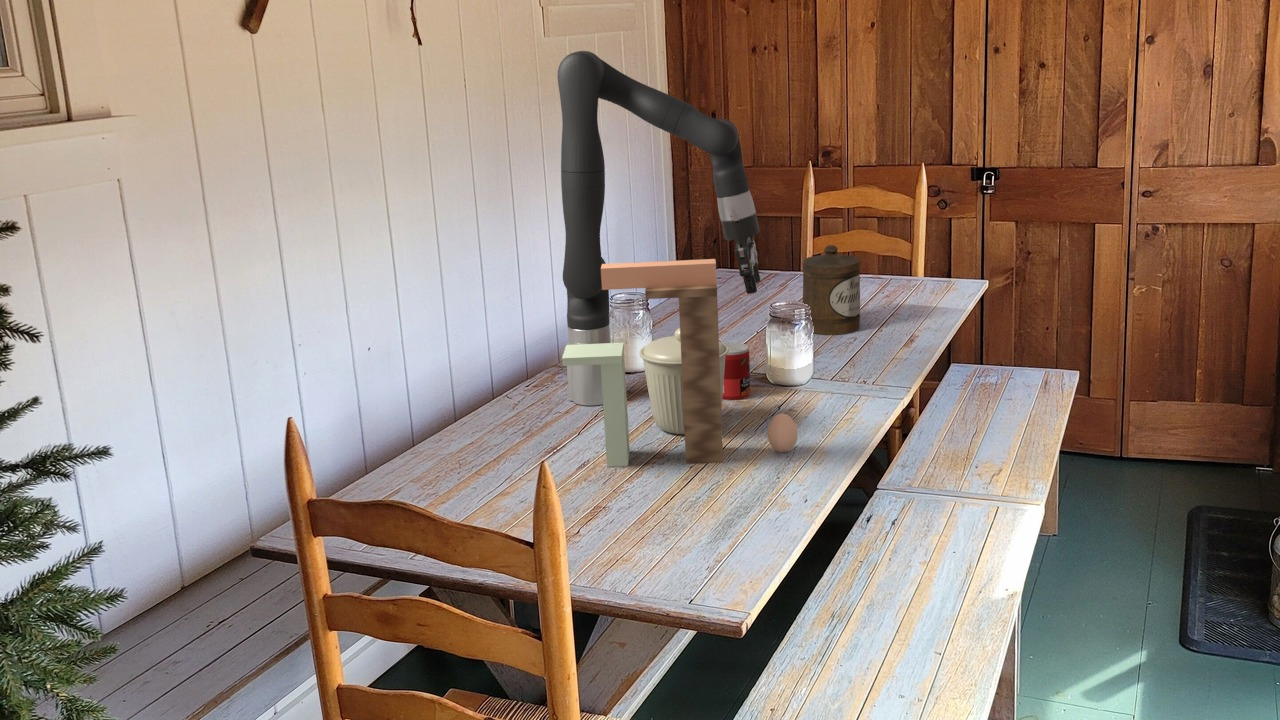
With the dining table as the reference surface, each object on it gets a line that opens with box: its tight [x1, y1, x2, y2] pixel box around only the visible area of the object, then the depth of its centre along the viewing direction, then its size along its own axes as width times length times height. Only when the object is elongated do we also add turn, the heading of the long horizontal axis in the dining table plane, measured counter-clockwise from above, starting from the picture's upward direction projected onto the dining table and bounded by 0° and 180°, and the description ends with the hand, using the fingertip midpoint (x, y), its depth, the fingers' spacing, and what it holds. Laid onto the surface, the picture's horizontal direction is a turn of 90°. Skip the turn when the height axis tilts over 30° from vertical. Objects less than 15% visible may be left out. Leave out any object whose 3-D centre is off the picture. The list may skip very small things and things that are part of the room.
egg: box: [767, 413, 799, 453], centre depth 231 cm, size 6×6×8 cm
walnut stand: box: [644, 284, 724, 465], centre depth 227 cm, size 13×9×34 cm
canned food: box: [722, 342, 751, 401], centre depth 265 cm, size 8×8×11 cm
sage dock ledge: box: [561, 342, 631, 468], centre depth 230 cm, size 11×9×22 cm
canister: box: [638, 327, 729, 435], centre depth 245 cm, size 18×18×21 cm
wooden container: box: [802, 244, 861, 336], centre depth 313 cm, size 15×15×22 cm
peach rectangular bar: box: [601, 258, 718, 291], centre depth 222 cm, size 21×4×4 cm, turn 88°
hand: (753, 287), depth 257 cm, fingers open, 8 cm apart
